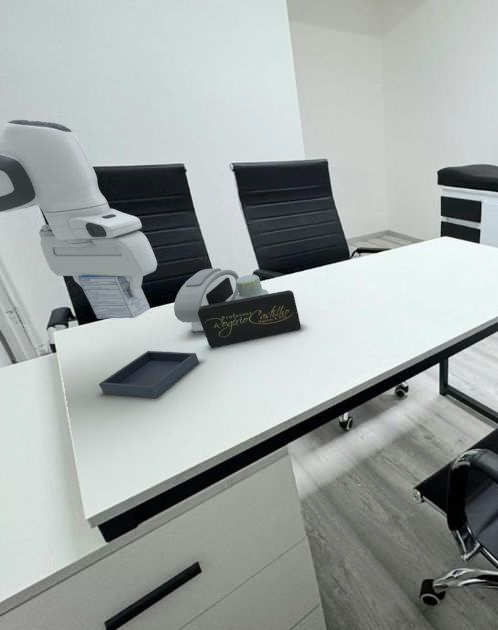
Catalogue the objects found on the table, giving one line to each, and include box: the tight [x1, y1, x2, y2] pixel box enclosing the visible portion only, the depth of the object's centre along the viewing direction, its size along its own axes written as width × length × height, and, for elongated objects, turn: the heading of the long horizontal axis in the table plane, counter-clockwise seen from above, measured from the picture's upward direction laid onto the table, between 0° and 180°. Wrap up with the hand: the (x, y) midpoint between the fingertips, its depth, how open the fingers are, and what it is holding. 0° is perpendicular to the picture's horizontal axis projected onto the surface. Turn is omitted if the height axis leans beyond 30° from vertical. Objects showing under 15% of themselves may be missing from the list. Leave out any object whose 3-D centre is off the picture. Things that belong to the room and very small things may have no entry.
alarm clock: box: [173, 267, 240, 332], centre depth 103 cm, size 23×6×13 cm, turn 0°
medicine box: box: [78, 276, 151, 319], centre depth 73 cm, size 8×4×9 cm, turn 84°
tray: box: [98, 350, 200, 399], centre depth 80 cm, size 12×12×2 cm
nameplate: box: [198, 289, 302, 348], centre depth 92 cm, size 21×2×10 cm, turn 110°
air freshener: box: [235, 274, 270, 300], centre depth 104 cm, size 11×8×10 cm
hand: (116, 296), depth 73 cm, fingers closed on medicine box, 8 cm apart
